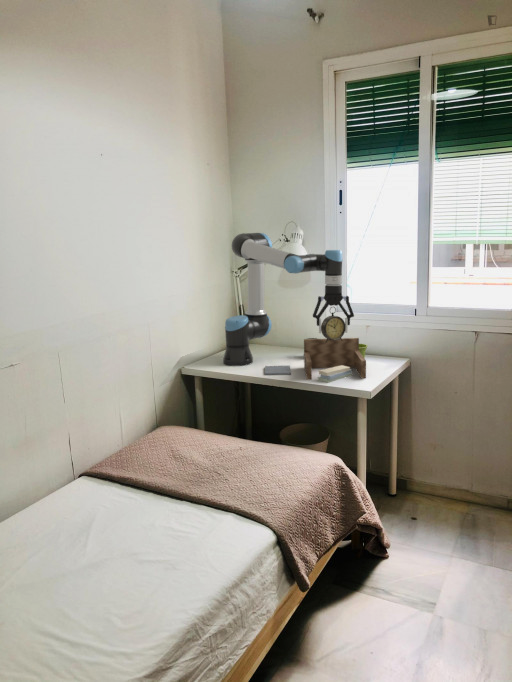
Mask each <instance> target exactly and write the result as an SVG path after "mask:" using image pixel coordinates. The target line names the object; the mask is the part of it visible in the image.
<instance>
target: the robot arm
mask: <svg viewBox="0 0 512 682" xmlns="http://www.w3.org/2000/svg"><path fill="white" fill-rule="evenodd" d="M231 249H232V250H231V251H232V252H233V253H234V255H235V256H237V257H239V258H242V259H244V261H245V263H247V310H246V311H244V315H241V314H240V315H234V316H231V317H227V318H226V320H225V323H224V324H225V325H224V329H225V346H226V347H225V351H224V355H223V360H222V361H223V364H224V365H226V364H227V365H226V366H232V365H240V366H245V365H246V364H247V365H251V364H252V363H253V362H254V357H253V354H252V352H251V349H250V340H254V339H261V338H264V337H265V336H267V335H268V334H270V332H271V330H272V320H271V319H270V317H269V315H268V311H266V309H265V264H268V265H272V266H275V267H278V268H281V269H285V271H287V273H289V274H300V273H308V272H324V284H325V285H324V296H319V295H318V296H317V303H316V305H315V308H314V311H313V313H312V318H314V319H316V326H317V327H318V333H319V334H322V332H321V325H322V318H321V317H322V315H323V314H324V313H325V311H326V310H327V308H328V307H329V306H330V307H333V306H334V307H335V306H339V308H340V309H341V311H342V312H343V314H344V315H345V316H346V317H344V322H345V333H346V334H348V327H349V326H350V325H351V318H354V317H355V315H354V312H353V309H352V307H351V304H350V297H349V296H348V295H343V285H342V283H343V252H342V250H340V249H327V250H325V253H324V254H321V253H318V254H317V253H316V254H315V253H309V254H302V255H299V254H295V253H291V252H288V251H285V250H281V249H278V248H275V247H273V243H272V240H271V238H270V237H269V236H268V234H266V233H264V232H250V233H249V232H248V233H247V232H246V233H245V232H244V233H238V234H237V235H236V236H235V237H233V239H232V240H231ZM324 300H325V303H324V305H323V306H322V308H321V309H320V311H319V308H320V306H321V303H322V302H323V301H324ZM342 300H344V301H345V304H346V306H347V310H348V311H349V313H348V311H347V310H346V309H345V307H344V306H343V304H342V303H341V302H342ZM250 363H251V364H250ZM247 365H246V366H247Z"/></svg>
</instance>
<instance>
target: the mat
mask: <svg viewBox="0 0 512 682" xmlns="http://www.w3.org/2000/svg"><path fill="white" fill-rule="evenodd" d="M291 374H292V373H291V365H265V366H264V376H282V375H283V376H285V375H291Z"/></svg>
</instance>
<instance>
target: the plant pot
mask: <svg viewBox="0 0 512 682" xmlns="http://www.w3.org/2000/svg"><path fill="white" fill-rule="evenodd" d="M367 349H368V345H367V344H366V343H359V352H360V353H361V354H362V356H363V357H364V358H365V357H366V352H367V351H366V350H367ZM365 359H366V358H365Z"/></svg>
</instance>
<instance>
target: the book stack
mask: <svg viewBox="0 0 512 682" xmlns="http://www.w3.org/2000/svg"><path fill="white" fill-rule="evenodd" d="M352 370H353V369H351V367H347V366H343V365H341V366H336V367H332V368H322V369H319V370H318V374H319V375H320V376H319V377H317V380H318V381H319V382H325V383H331V382H334V381H339V380H341V379H344V378H345V377H346V378H348V377H352V376H353V371H352Z"/></svg>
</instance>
